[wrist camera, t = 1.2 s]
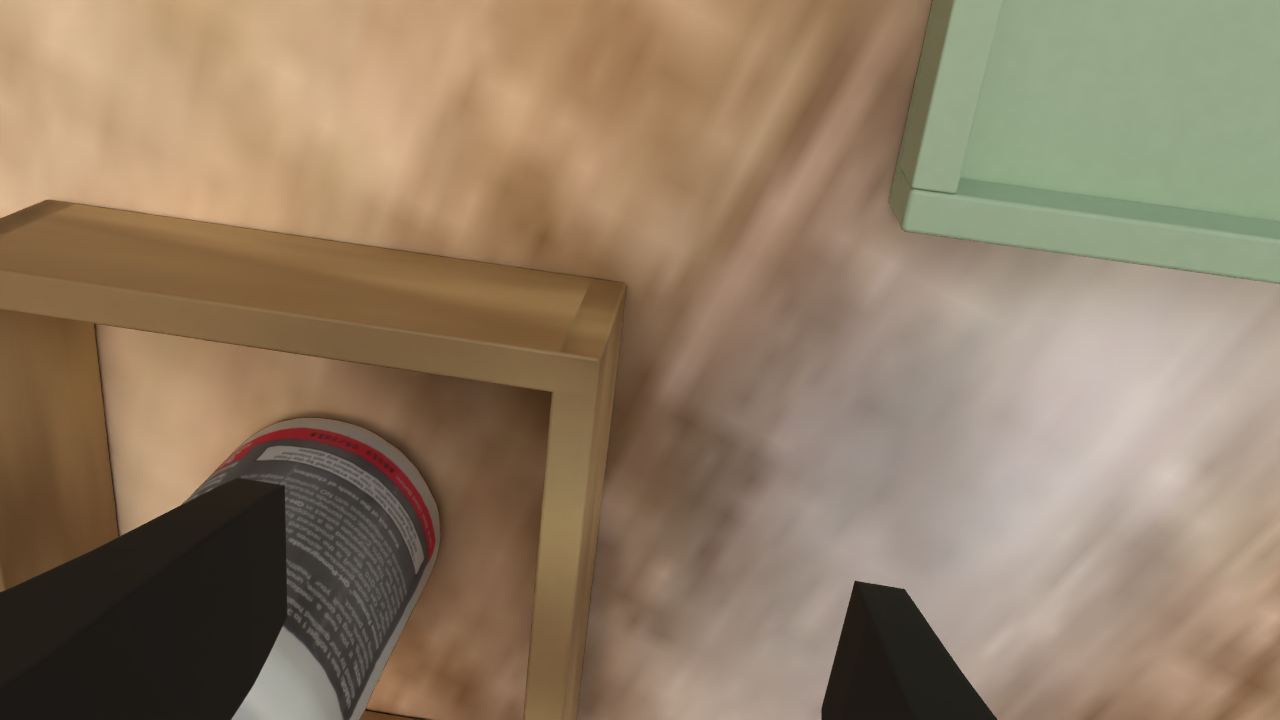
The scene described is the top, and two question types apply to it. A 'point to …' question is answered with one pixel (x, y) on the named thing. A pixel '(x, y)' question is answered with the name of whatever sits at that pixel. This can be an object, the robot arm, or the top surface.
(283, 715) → the pill bottle
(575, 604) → the open wooden box
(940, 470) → the top surface
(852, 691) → the robot arm
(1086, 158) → the tray
